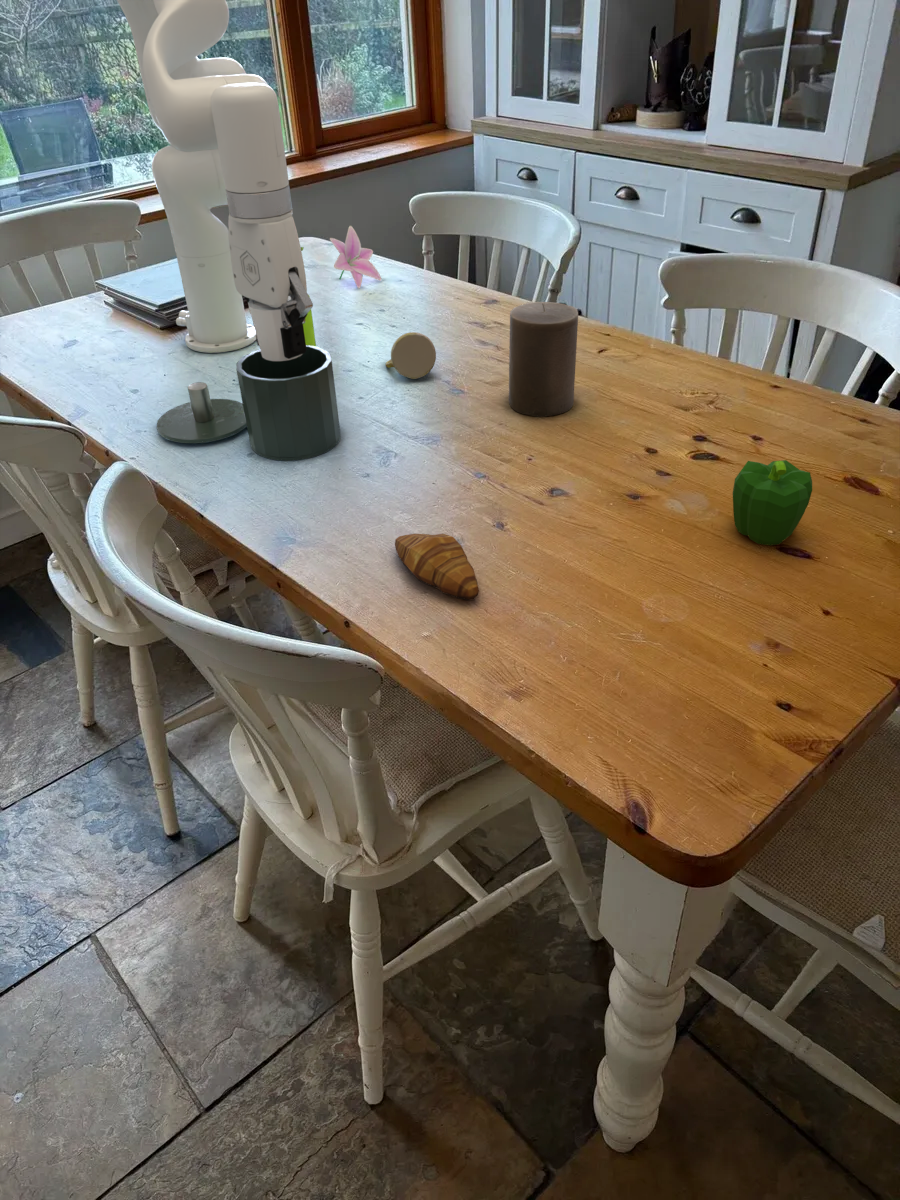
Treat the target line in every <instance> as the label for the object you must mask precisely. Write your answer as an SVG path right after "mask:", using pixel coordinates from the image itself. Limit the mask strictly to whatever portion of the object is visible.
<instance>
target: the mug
mask: <svg viewBox="0 0 900 1200" xmlns="http://www.w3.org/2000/svg"><path fill="white" fill-rule="evenodd" d="M436 360H437V351H436V347H435V344H434V342H433V341H432V340H431V339H430V338H429V337H428V335H425V334H424V333H421V332H416V331H412V332H411V331H410V332H406V333H404V334H402V335H400V336H399V337H398V338H397V339H396V340H395V341H394V343H393V344H392V346H391V350H390V359H389V360H387V361H385V364H384V366H385V367H386V368H387V369H391V368H393V369H394V370H395V371H396V372H397V373H398V374H399V375H401V376H403V377H404V378H408V379H412V380H417V379H421V378H423V377H425V376H426V375H427V374H429V373H430V372H431V371H432V369H433V368H434V366H435V363H436Z"/></svg>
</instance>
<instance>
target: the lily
mask: <svg viewBox="0 0 900 1200" xmlns="http://www.w3.org/2000/svg"><path fill="white" fill-rule="evenodd" d="M329 241H330V243H332V245H333V246H334V248H335V249H336V250H337V252H338V253H339V255H338V256H337V258H336V260H335V262H334V263H333V268H334V269H335V270H339V271H341V273H340V276H339V278H338V279H339V280H341V279H342V277H343V275H344V272H350V274H351V276H352V279H353V281H354V283H355V285H356V287H357V289H360V288H361V287H362V283H363V280H364V279H363V278H364V276H366V277H369V278H372V279H374V280H377V281H379V282H380V281H381V282H382V281H383V279H382V275H380V272H379V271H378V269H377V268H376V266H375V265H374V264H373V263H372V262H371V261H370V260H371V258H372V256H373V254H374V250H373V249H371V248H366V247H362V244H361V241H360V238H359V236H358V234H357V232H356V230H355V228H353V226H352V225H349V227H348V228H347V233H346V236H345V240H344V241H345V242H343V241H342V240H339V239H337V238H334V237H329ZM363 275H364V276H363Z"/></svg>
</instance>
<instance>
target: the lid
mask: <svg viewBox="0 0 900 1200" xmlns="http://www.w3.org/2000/svg"><path fill="white" fill-rule="evenodd" d="M186 388H187V393H188V397H189V402H186V403H182V404H180V405H177V406H174V407H172V408H171V409H169V410H167V411H166V412H164V413H163V414H162V415H160V416H159V418H158V420H157V421H156V429H157V432H158V434H159V435H160V436H161V437H162V438H164V439H165V440H167V441H170V442H175V443H179V444H203V443H210V442H216V441H220V440H224V439H226V438H227V439H228V438H230V437H231V436H234V435H236V434H238V433H240V432H242V431H243V430H245V429H247V424H246V419H245V413H244V408H243V403H242V401H237V400H235V399H234V400H233V399H228V398H211V396H210V391H209V386H208V383H206V382H202V381H198V382H193V383H190V384H189V385H188V386H187V387H186Z"/></svg>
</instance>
